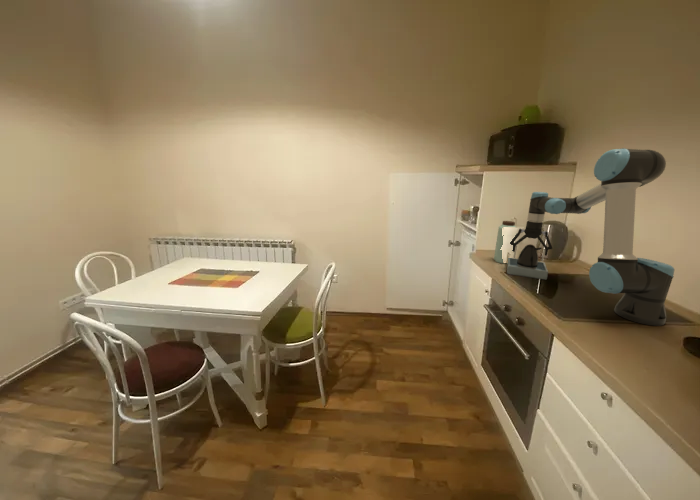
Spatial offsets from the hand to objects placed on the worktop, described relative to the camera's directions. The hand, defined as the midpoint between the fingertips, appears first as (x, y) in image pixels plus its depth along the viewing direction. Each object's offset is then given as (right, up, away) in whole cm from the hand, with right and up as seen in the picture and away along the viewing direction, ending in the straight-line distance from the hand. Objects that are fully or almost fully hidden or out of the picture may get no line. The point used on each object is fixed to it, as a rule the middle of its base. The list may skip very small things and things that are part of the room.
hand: (528, 259), depth 173 cm
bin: (0, -7, +2) cm, 8 cm away
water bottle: (-4, -2, +20) cm, 21 cm away
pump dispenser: (0, -7, +2) cm, 7 cm away
